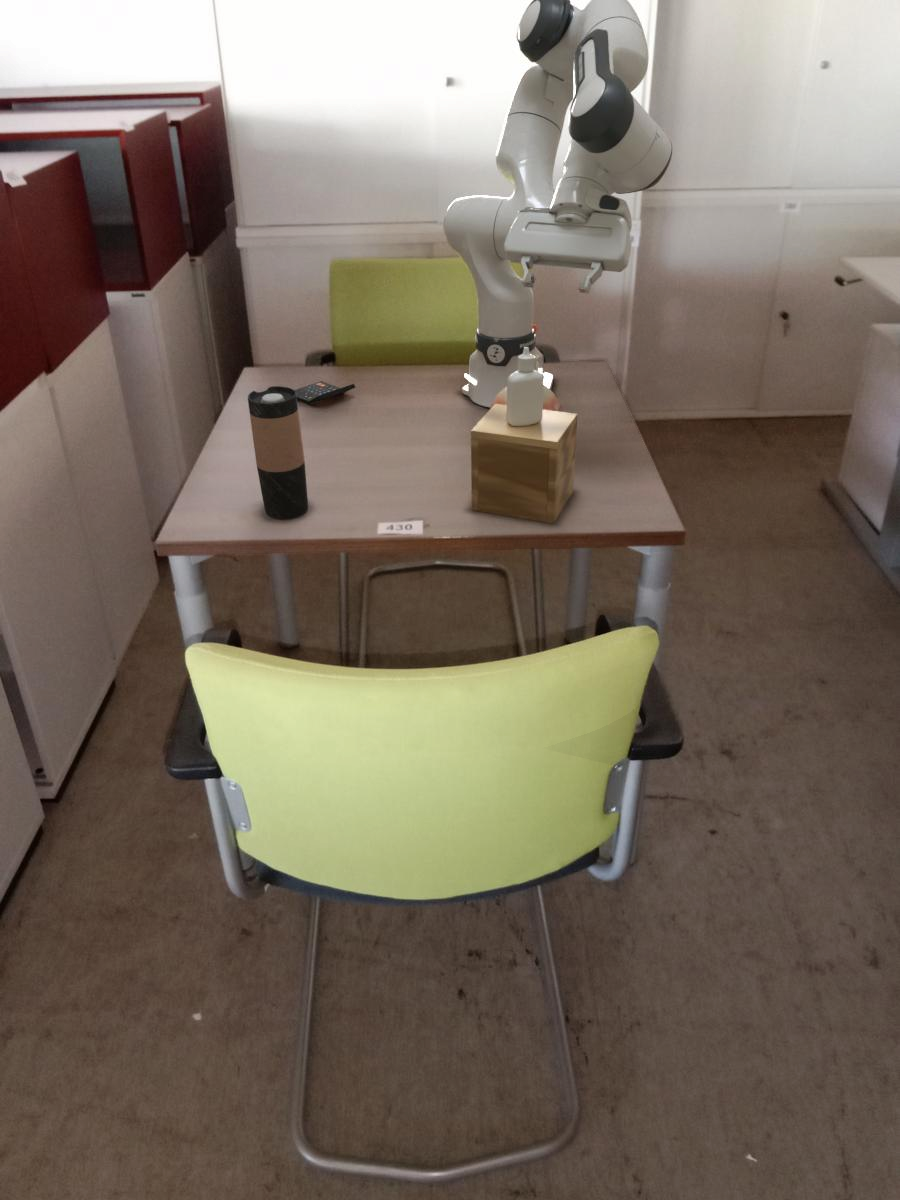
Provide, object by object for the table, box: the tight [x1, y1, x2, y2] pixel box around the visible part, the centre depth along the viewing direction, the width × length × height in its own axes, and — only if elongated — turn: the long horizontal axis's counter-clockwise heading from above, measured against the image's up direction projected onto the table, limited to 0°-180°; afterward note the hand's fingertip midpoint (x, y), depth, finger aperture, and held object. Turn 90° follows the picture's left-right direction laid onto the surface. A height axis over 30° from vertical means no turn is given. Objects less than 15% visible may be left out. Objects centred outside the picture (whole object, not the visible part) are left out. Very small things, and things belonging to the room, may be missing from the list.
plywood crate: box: [470, 404, 578, 524], centre depth 151 cm, size 12×14×14 cm
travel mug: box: [247, 385, 309, 521], centre depth 149 cm, size 8×8×20 cm
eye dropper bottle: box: [507, 347, 544, 426], centre depth 144 cm, size 4×6×12 cm
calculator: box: [293, 380, 356, 406], centre depth 196 cm, size 9×12×3 cm
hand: (554, 288), depth 147 cm, fingers open, 8 cm apart
